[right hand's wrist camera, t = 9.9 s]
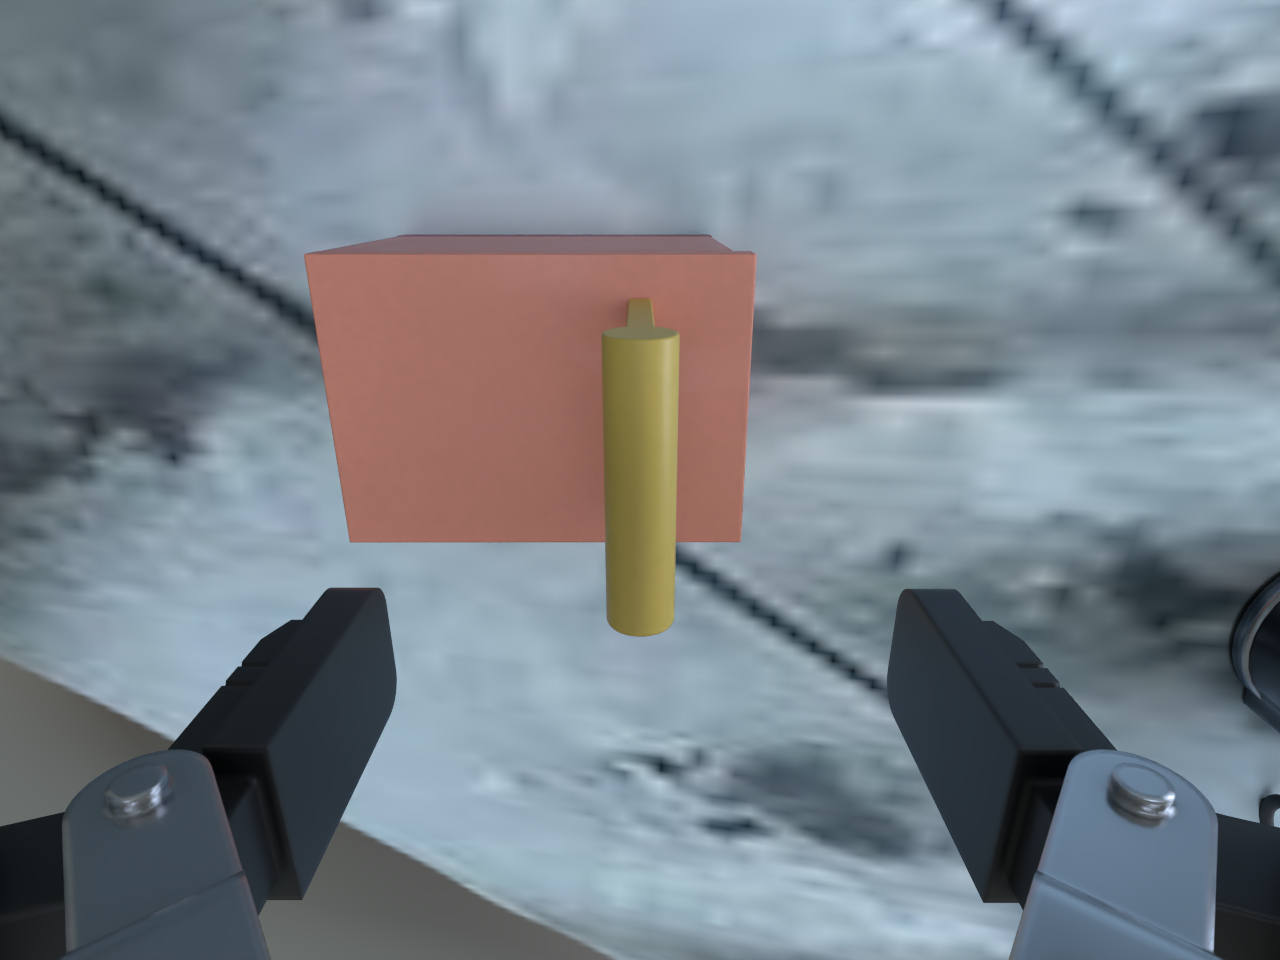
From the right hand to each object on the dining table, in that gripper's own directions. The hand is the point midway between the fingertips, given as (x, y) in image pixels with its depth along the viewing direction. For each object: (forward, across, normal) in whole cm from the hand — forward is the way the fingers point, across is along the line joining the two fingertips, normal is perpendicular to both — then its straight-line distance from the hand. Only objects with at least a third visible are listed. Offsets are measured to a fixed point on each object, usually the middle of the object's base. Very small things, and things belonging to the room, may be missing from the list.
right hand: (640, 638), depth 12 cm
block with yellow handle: (+14, +3, 0) cm, 14 cm away
